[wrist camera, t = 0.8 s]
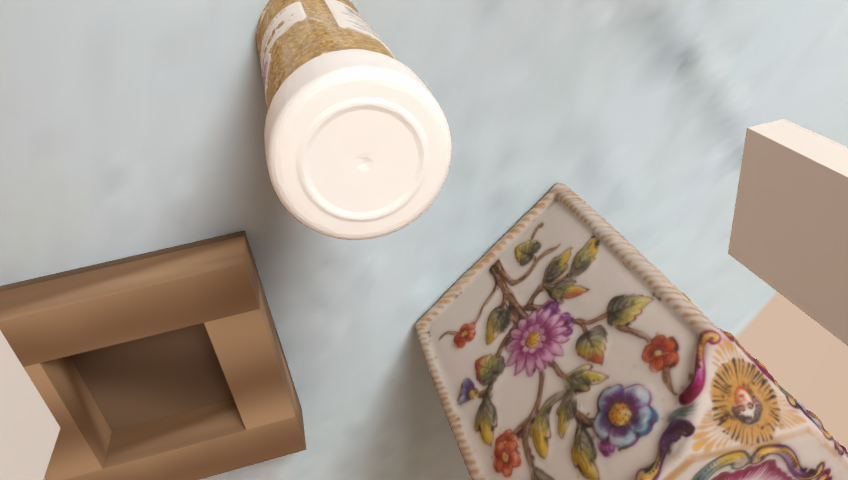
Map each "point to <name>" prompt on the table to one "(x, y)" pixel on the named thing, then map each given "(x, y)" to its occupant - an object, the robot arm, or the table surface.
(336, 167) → the sprinkles bottle
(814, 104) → the table surface
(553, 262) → the decorative jar
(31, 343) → the socket board
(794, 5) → the table surface
